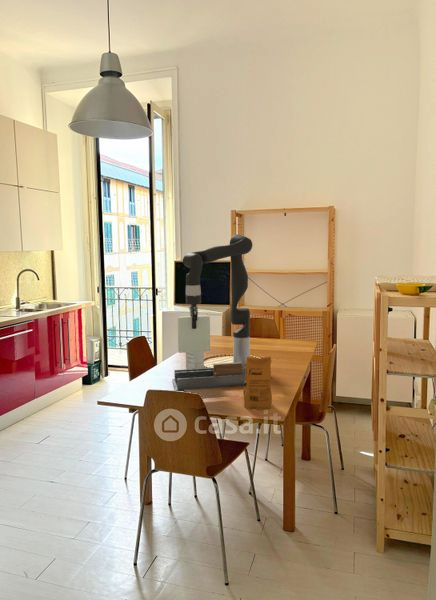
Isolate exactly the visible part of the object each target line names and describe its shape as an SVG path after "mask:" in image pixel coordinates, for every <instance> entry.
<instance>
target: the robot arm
mask: <svg viewBox="0 0 436 600" xmlns="http://www.w3.org/2000/svg"><path fill="white" fill-rule="evenodd" d="M252 248H253V241H252V240H251V238H249V237H248V236H245V235H241V234H237V233H236V234H234V235H232V236H231V237H230V239H229V244H226V245H216V246H211V247H208V248H206V249H202V250H198V251H193V252H189V253H186V254H185V255H184V256H183V258H182V264H183V265H184V266H185V267H186V268H188V269H189V272H188V273H186V275H185V304H186V305H190V306H189V307H188V309H189V316H191V317H192V320H191V321H192V329H196V321H197V316H199V315H198V314H199V307H198V306H197V305H199V304H201V303H202V289H201V274H202V269H203V265H204V264H209V263H212V262H216V261H219V260H221V259H225V258H230V273H231V275H230V290H231V291H230V292H231V295H230V296H231V300H230V301H231V303H230V323H231V324H232V325H235V326H237V325H241V326H242V327H240V328H239V329H236V330H234V331H232V336H233V337H232V339H233V343H232V344H233V345H232V347H233V351H232V352H233V353H232V355H233V361H232V363H237V362H241V363H242V366H244V367H246V363H247V357H251V356H250V353H251V351H250V348H251V347H250V346H251V345H250V342H251V341H250V322H251V312H250V309H249V308H246V307H245V308H244V307H243V308H240V307H239V308H238V304H239V303H240V300H241V299H242V297H243V296H244V295H245V293H246V291H248V288H249V287H248V286H249V275H248V272H247V269H246V266H245V264H244V261H243V255H246V254H249V253H250V252H251V250H252Z"/></svg>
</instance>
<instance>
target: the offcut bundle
mask: <svg viewBox="0 0 436 600" xmlns="http://www.w3.org/2000/svg"><path fill="white" fill-rule="evenodd" d="M212 366H213V367H212V368H213V373H214V376H228V375H243V368H242V363H241V362H237V363H233V362H224V363H221V362H220V363H213V365H212Z"/></svg>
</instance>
